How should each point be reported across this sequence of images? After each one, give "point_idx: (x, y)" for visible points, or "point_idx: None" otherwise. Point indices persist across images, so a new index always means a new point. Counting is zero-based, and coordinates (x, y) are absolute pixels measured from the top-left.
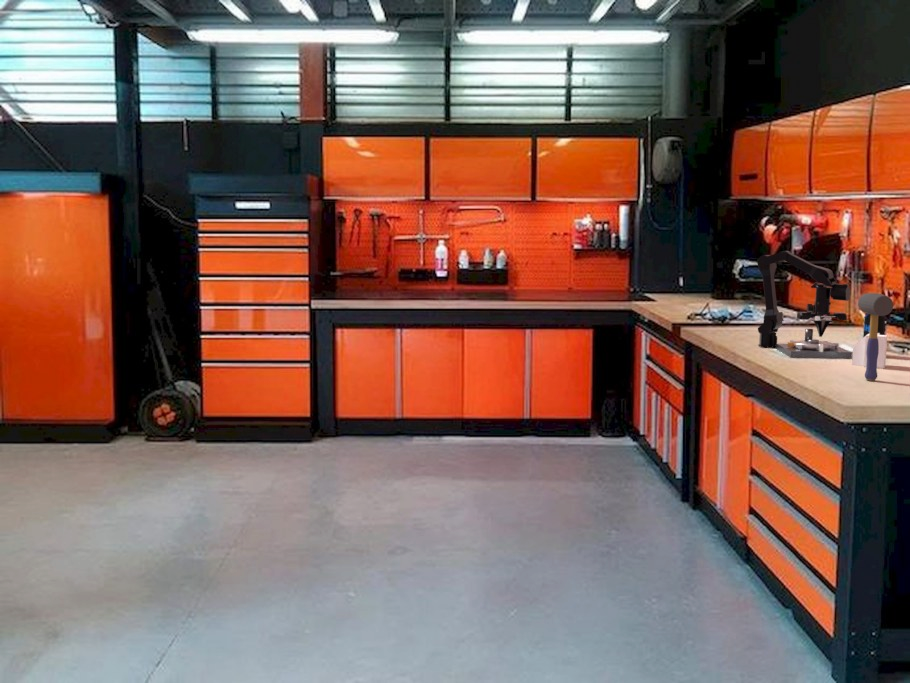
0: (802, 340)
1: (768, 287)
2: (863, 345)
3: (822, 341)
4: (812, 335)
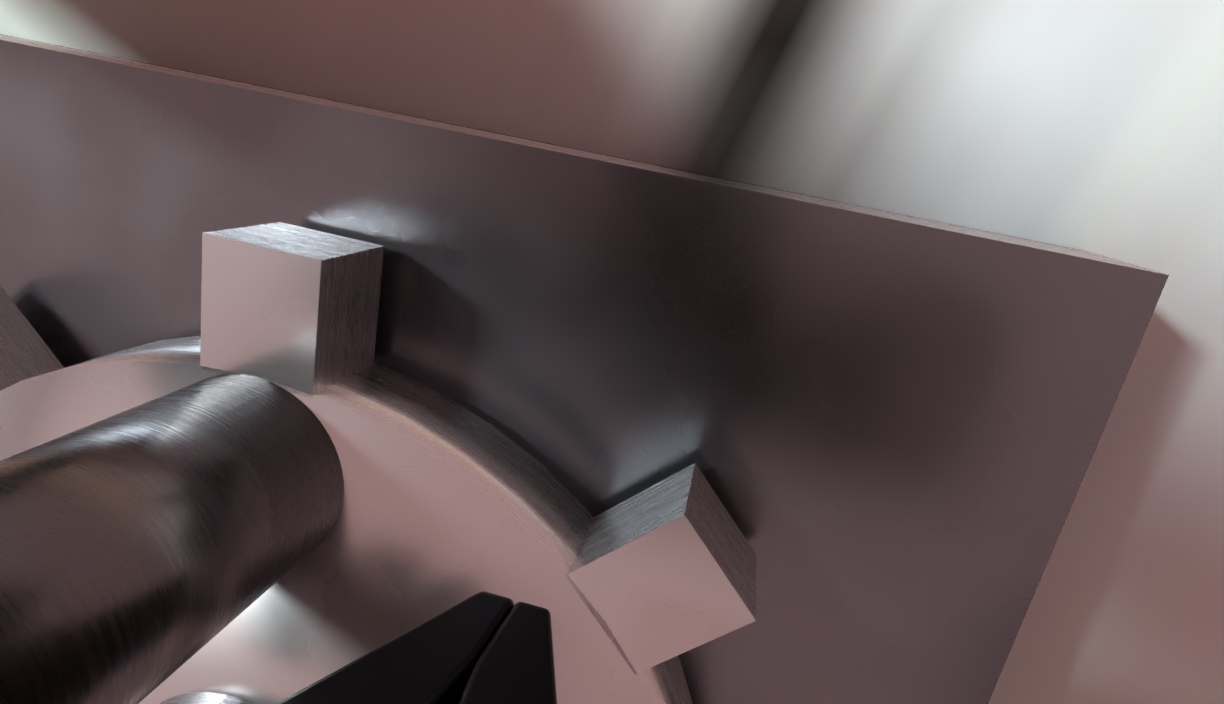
0: (125, 358)
1: None
2: None
3: (574, 637)
4: (204, 644)
